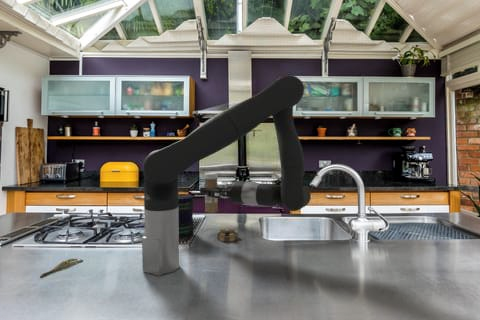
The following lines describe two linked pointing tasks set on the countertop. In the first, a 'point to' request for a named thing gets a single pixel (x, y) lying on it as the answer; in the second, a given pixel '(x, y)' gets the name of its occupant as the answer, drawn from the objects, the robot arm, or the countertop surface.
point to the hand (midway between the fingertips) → (204, 189)
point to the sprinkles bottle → (210, 201)
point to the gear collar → (222, 234)
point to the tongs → (62, 266)
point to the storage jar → (185, 215)
